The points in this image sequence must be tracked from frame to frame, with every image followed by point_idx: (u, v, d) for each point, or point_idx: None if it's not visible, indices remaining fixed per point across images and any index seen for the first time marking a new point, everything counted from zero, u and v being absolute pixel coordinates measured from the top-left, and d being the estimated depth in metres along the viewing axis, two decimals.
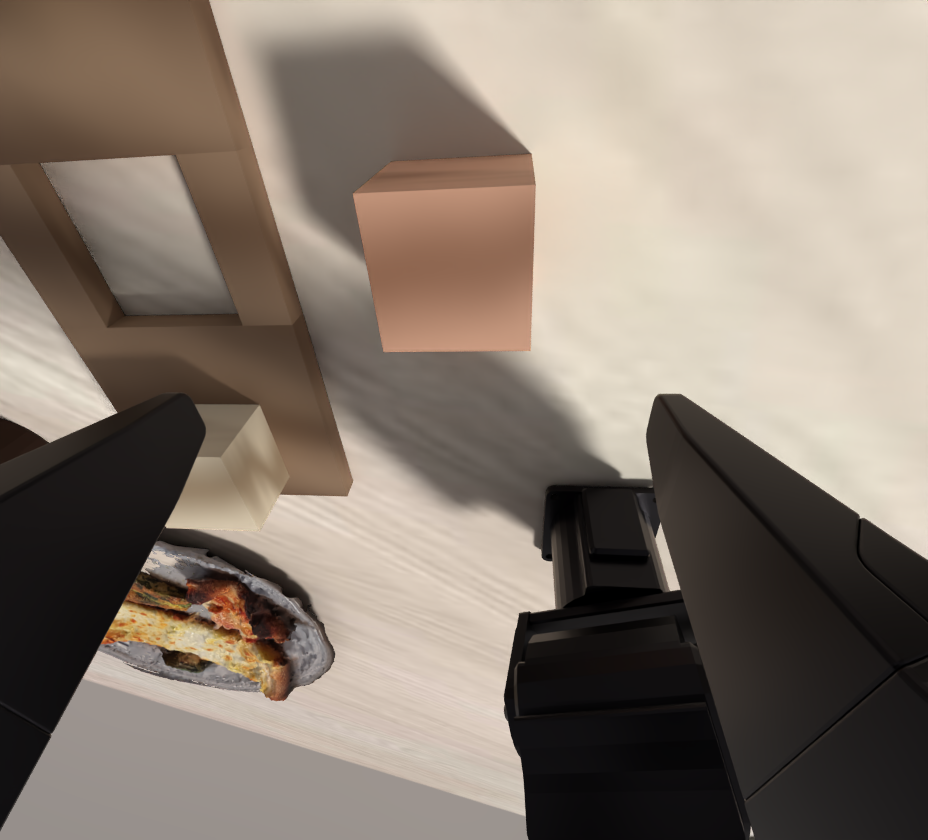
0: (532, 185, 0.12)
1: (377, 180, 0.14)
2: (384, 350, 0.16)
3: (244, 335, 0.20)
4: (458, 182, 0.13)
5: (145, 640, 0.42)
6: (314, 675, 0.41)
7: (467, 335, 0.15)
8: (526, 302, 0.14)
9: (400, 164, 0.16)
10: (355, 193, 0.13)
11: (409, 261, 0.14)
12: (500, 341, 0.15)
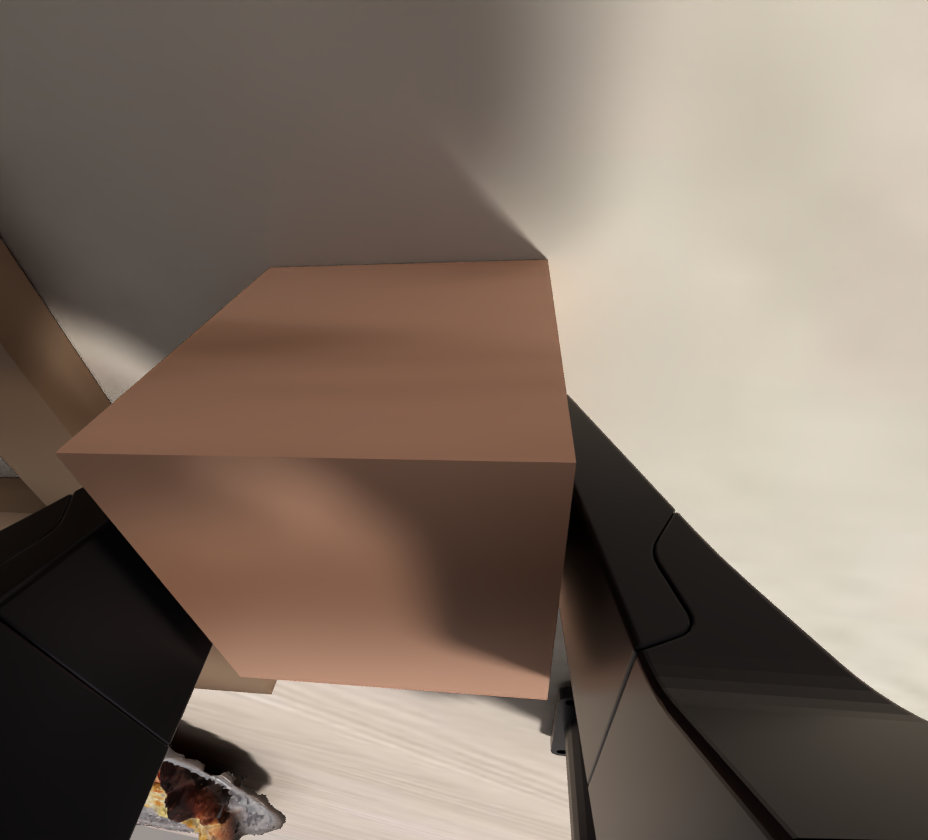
0: (566, 460, 0.04)
1: (177, 366, 0.06)
2: (241, 675, 0.08)
3: None
4: (359, 406, 0.05)
5: None
6: (264, 829, 0.33)
7: (409, 673, 0.07)
8: (539, 645, 0.06)
9: (277, 284, 0.08)
10: (64, 450, 0.05)
11: (251, 572, 0.06)
12: (481, 685, 0.07)
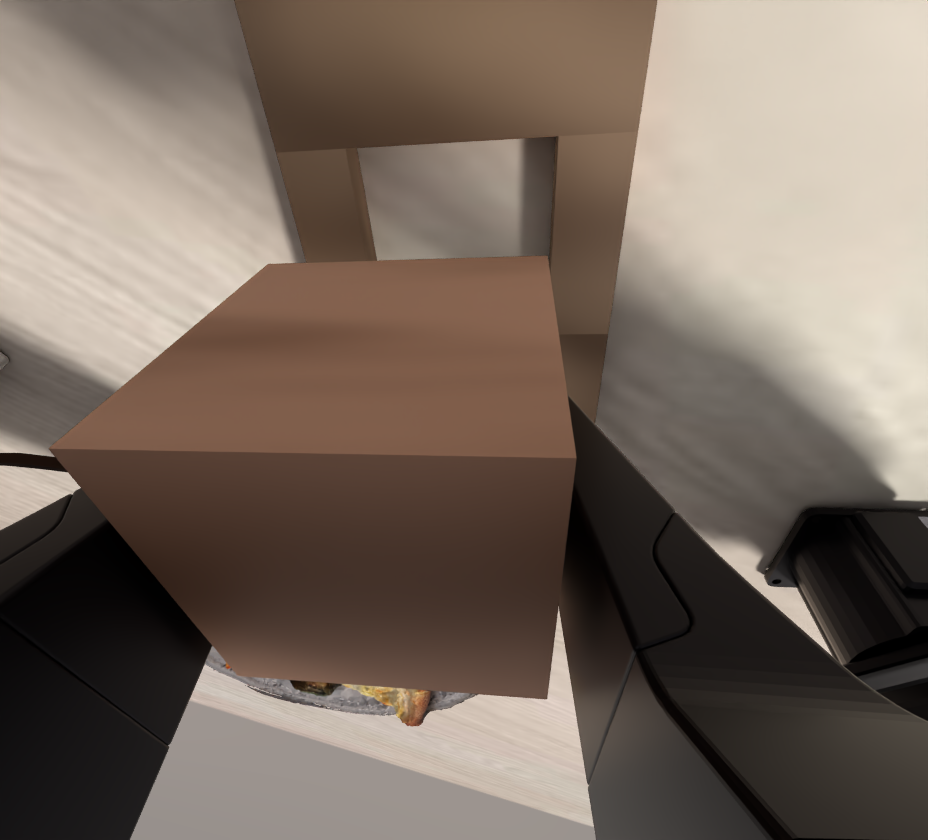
0: (566, 456, 0.04)
1: (173, 362, 0.06)
2: (238, 674, 0.07)
3: None
4: (357, 402, 0.05)
5: None
6: (457, 700, 0.39)
7: (408, 672, 0.07)
8: (539, 644, 0.06)
9: (275, 280, 0.08)
10: (58, 446, 0.04)
11: (249, 570, 0.05)
12: (480, 684, 0.07)
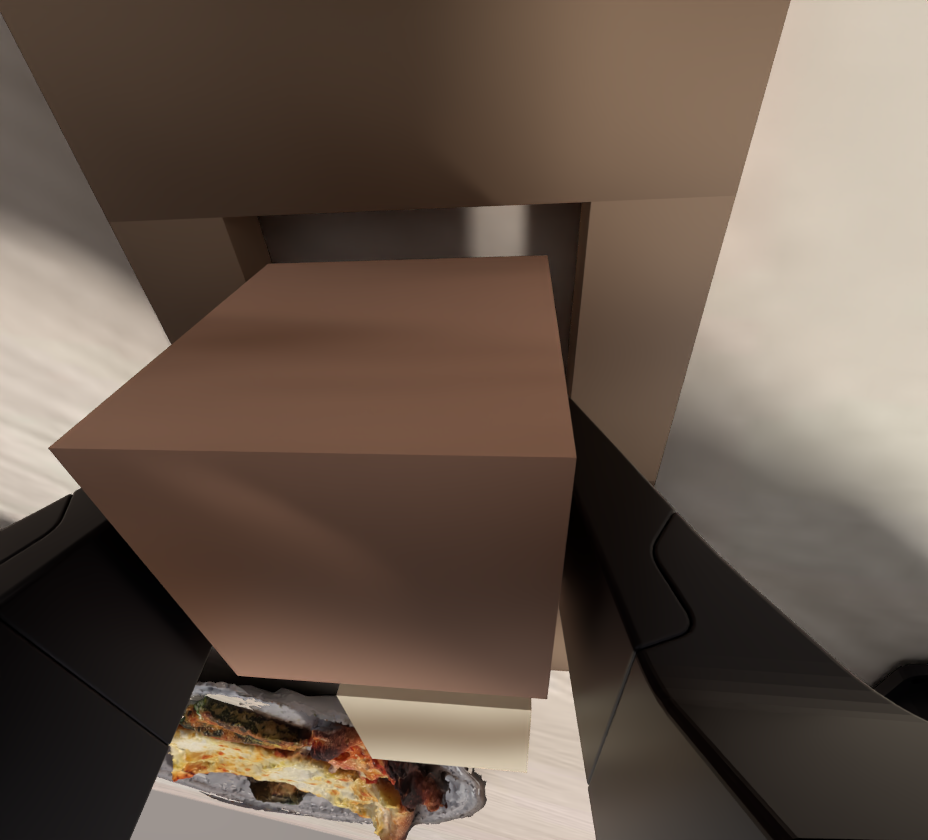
0: (566, 455, 0.04)
1: (173, 361, 0.06)
2: (238, 674, 0.07)
3: None
4: (357, 401, 0.05)
5: (231, 770, 0.34)
6: (446, 818, 0.33)
7: (408, 672, 0.07)
8: (539, 643, 0.06)
9: (275, 280, 0.08)
10: (57, 446, 0.04)
11: (248, 570, 0.05)
12: (480, 684, 0.07)
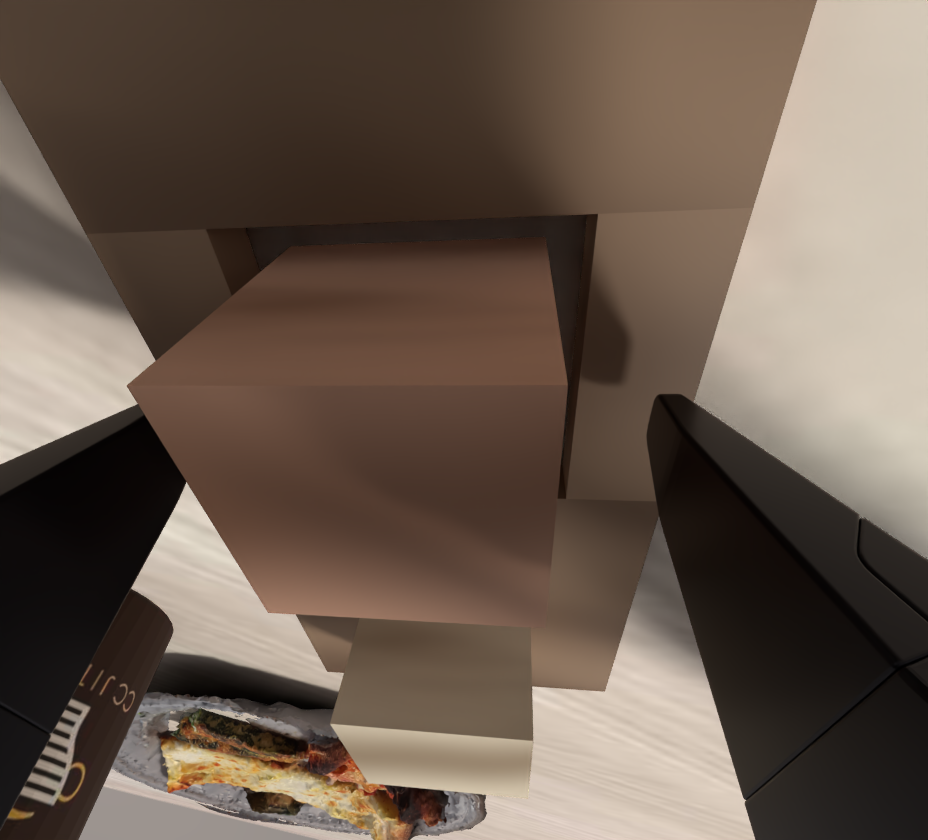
0: (559, 384, 0.05)
1: (220, 321, 0.07)
2: (269, 611, 0.08)
3: (560, 511, 0.11)
4: (384, 349, 0.06)
5: (227, 781, 0.33)
6: (445, 830, 0.32)
7: (422, 603, 0.08)
8: (539, 569, 0.07)
9: (300, 258, 0.08)
10: (134, 384, 0.05)
11: (287, 501, 0.06)
12: (486, 614, 0.08)
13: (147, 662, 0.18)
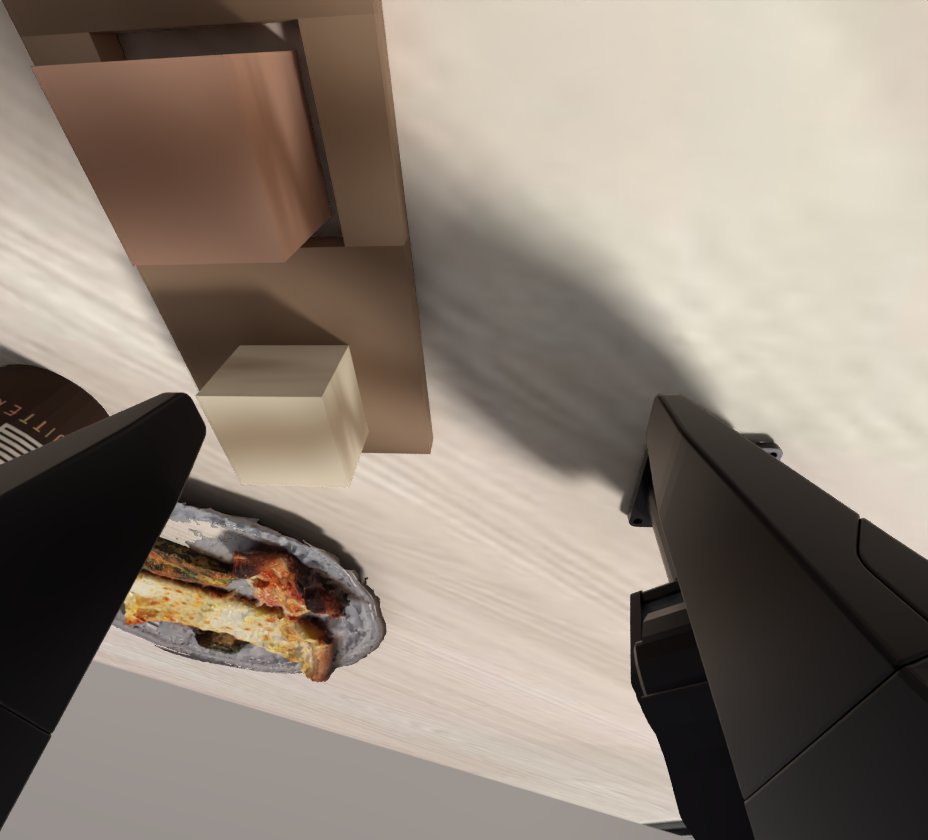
0: (220, 55, 0.11)
1: None
2: (132, 263, 0.14)
3: (344, 259, 0.18)
4: None
5: (177, 620, 0.39)
6: (360, 655, 0.39)
7: (213, 244, 0.14)
8: (260, 202, 0.13)
9: None
10: (34, 66, 0.11)
11: (121, 152, 0.12)
12: (249, 251, 0.14)
13: None
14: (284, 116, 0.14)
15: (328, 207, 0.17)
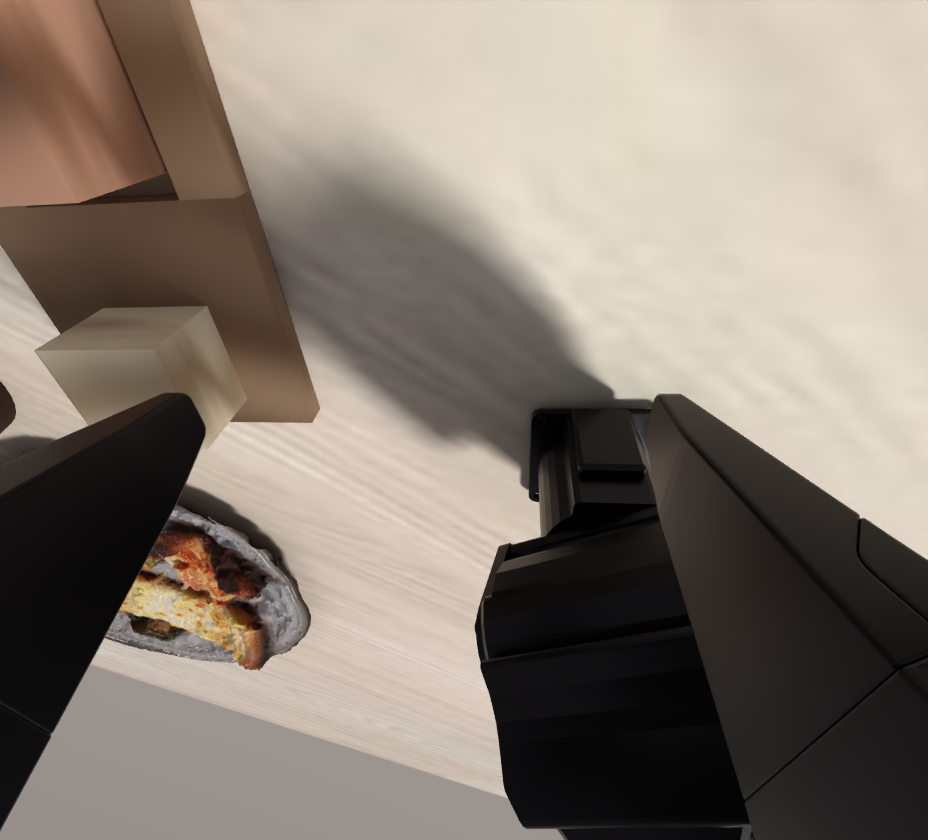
0: None
1: None
2: None
3: (182, 213, 0.18)
4: None
5: None
6: (291, 642, 0.38)
7: (6, 185, 0.14)
8: (37, 138, 0.13)
9: None
10: None
11: None
12: (42, 192, 0.14)
13: None
14: (78, 59, 0.14)
15: None
